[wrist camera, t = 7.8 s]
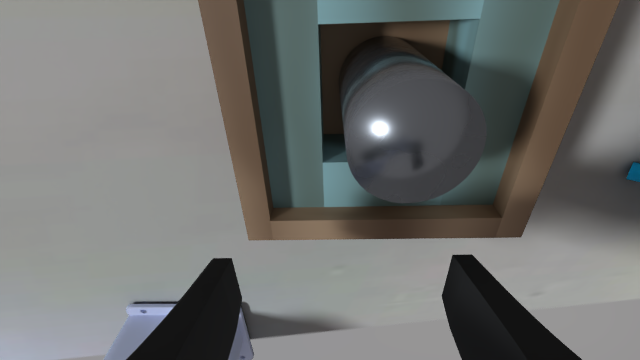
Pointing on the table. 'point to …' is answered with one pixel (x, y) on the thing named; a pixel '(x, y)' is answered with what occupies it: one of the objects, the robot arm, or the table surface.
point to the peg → (406, 123)
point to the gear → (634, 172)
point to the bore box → (326, 115)
